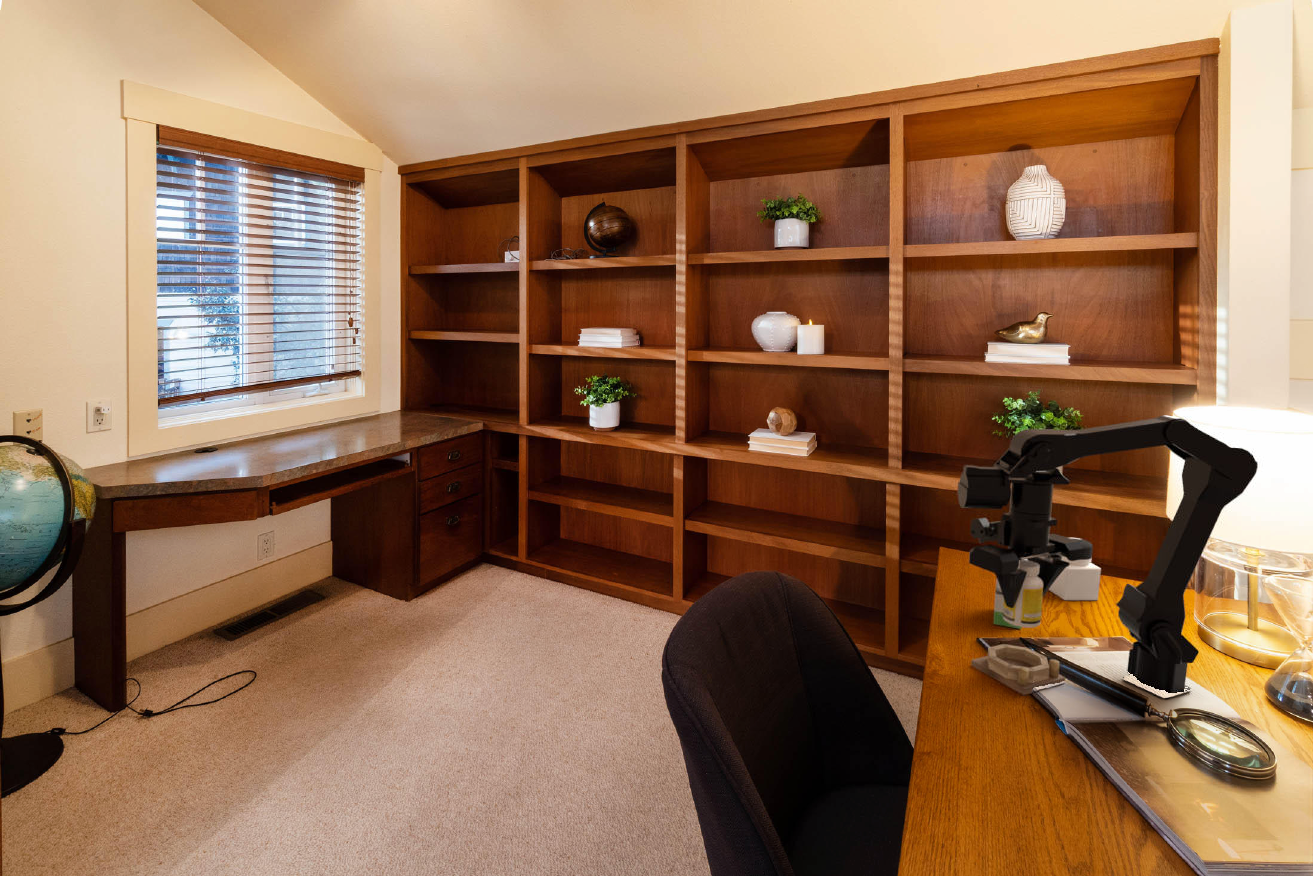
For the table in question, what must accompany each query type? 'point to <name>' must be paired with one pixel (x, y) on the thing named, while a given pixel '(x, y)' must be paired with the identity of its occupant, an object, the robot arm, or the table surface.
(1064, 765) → the table surface
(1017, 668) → the beige octagonal holder
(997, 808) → the table surface
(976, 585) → the table surface
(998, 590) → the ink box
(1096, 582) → the medicine bottle
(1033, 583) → the supplement bottle
